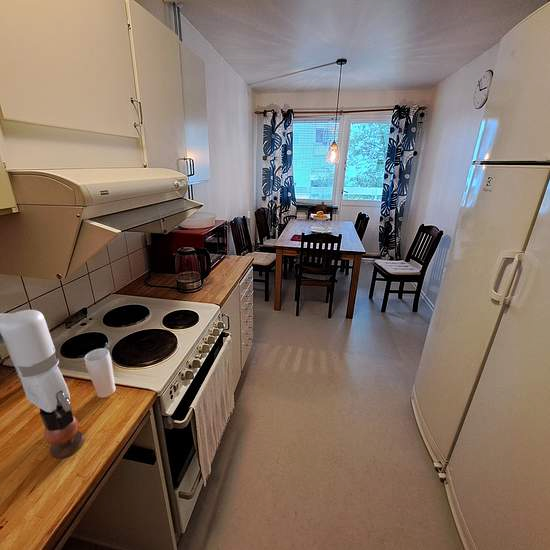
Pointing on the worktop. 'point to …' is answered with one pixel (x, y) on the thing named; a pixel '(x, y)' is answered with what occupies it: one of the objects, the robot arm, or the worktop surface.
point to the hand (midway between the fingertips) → (58, 419)
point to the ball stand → (64, 440)
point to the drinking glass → (101, 371)
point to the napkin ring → (50, 419)
